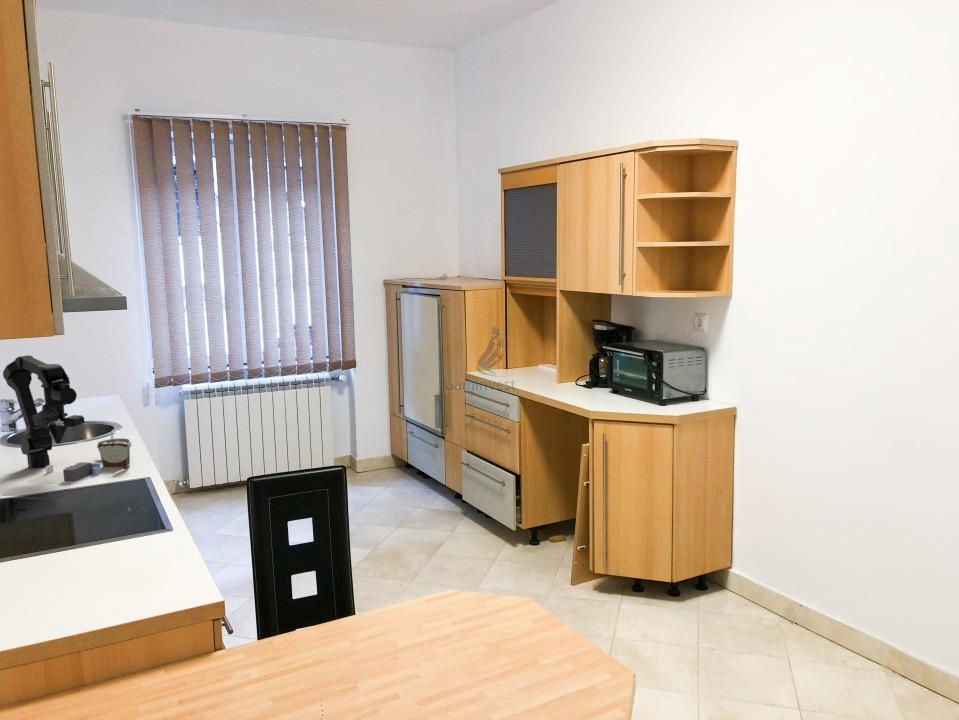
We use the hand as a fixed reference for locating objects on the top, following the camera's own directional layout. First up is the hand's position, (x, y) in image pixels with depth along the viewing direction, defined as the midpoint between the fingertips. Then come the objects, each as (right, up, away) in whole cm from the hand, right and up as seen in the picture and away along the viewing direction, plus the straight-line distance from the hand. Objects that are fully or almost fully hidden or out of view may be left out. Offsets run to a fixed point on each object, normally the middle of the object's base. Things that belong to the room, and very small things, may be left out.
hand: (58, 443), depth 274 cm
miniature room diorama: (+4, -12, -4) cm, 14 cm away
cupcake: (+9, -8, +21) cm, 24 cm away
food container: (+17, -10, +10) cm, 22 cm away
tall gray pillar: (+10, -11, -5) cm, 15 cm away
